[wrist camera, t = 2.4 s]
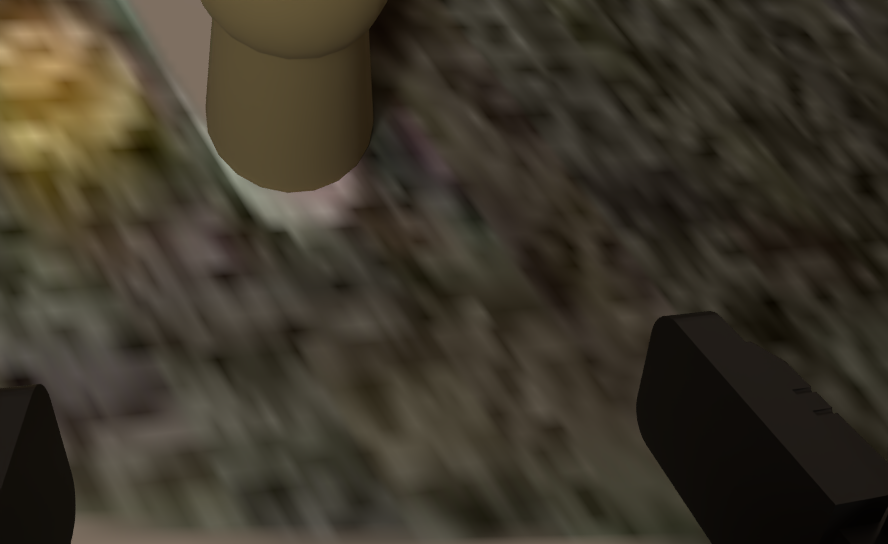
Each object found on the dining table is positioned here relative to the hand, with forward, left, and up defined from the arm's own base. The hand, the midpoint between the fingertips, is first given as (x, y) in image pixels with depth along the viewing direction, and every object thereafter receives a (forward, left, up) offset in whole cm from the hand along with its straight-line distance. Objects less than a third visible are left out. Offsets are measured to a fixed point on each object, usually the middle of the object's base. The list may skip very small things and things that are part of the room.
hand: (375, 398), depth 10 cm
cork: (-8, -9, -16) cm, 20 cm away
